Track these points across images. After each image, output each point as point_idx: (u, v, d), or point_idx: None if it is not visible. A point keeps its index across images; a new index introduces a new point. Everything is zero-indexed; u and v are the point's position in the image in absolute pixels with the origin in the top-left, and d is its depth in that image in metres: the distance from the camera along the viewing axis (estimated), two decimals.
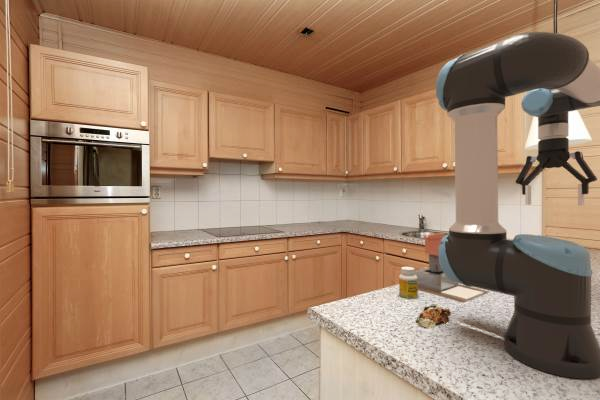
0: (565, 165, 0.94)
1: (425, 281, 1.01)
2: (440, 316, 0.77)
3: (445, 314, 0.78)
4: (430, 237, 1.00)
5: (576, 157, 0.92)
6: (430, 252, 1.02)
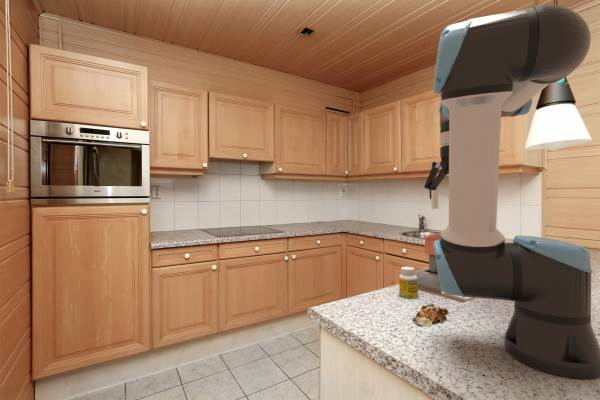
0: None
1: (425, 281, 1.01)
2: (437, 315, 0.77)
3: (442, 313, 0.79)
4: (430, 237, 1.00)
5: None
6: (430, 252, 1.02)
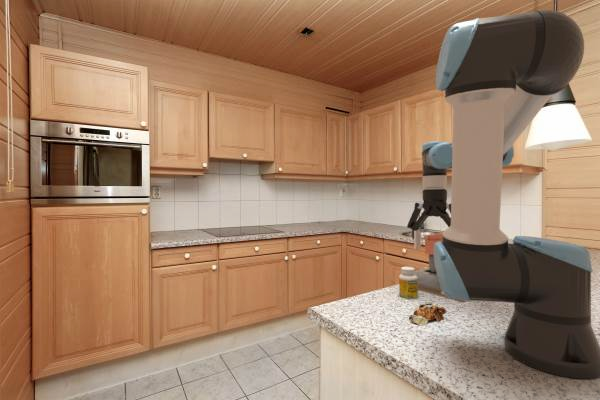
0: (442, 216, 0.99)
1: (425, 281, 1.01)
2: (433, 314, 0.78)
3: (439, 312, 0.79)
4: (430, 237, 1.00)
5: (450, 209, 0.97)
6: (430, 252, 1.02)
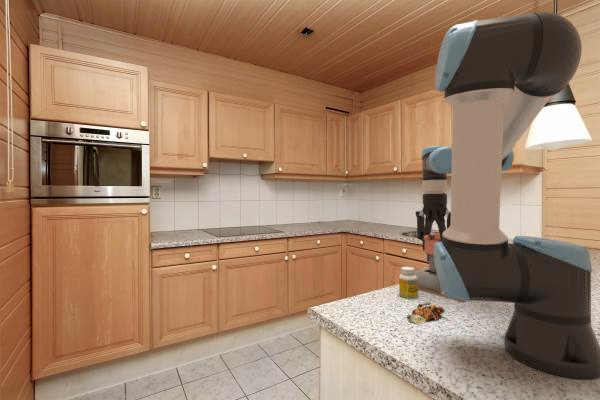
0: (438, 222, 1.00)
1: (425, 281, 1.01)
2: (431, 313, 0.78)
3: (437, 311, 0.80)
4: (430, 237, 1.00)
5: (448, 217, 0.97)
6: (430, 252, 1.02)
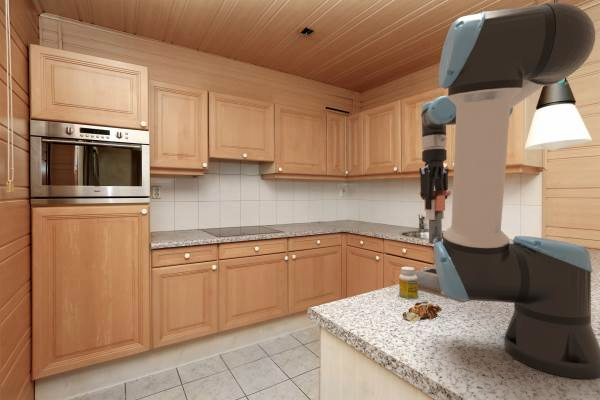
0: None
1: (425, 281, 1.01)
2: (426, 311, 0.80)
3: (433, 310, 0.81)
4: None
5: None
6: None
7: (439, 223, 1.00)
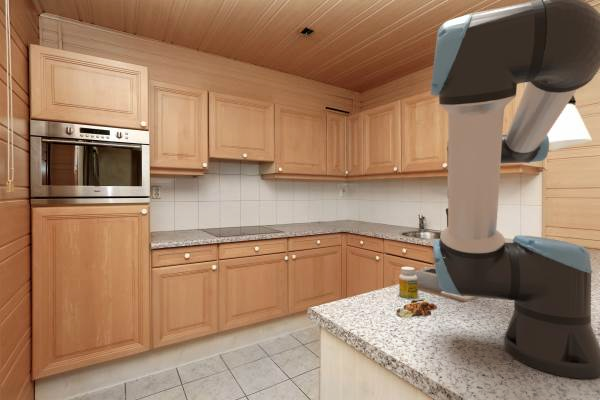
0: None
1: (425, 281, 1.01)
2: (420, 308, 0.82)
3: (427, 308, 0.82)
4: None
5: None
6: None
7: None
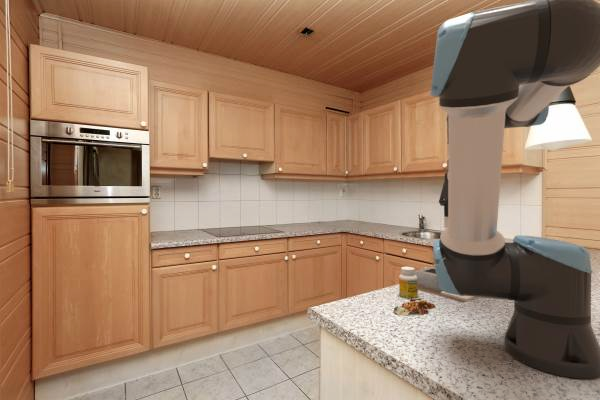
0: None
1: (425, 281, 1.01)
2: (417, 307, 0.83)
3: (425, 306, 0.83)
4: None
5: None
6: None
7: None
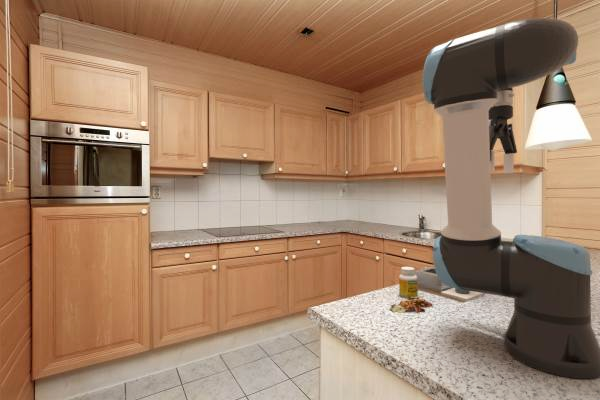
0: None
1: (425, 281, 1.01)
2: (413, 305, 0.84)
3: (421, 305, 0.85)
4: None
5: None
6: None
7: None
